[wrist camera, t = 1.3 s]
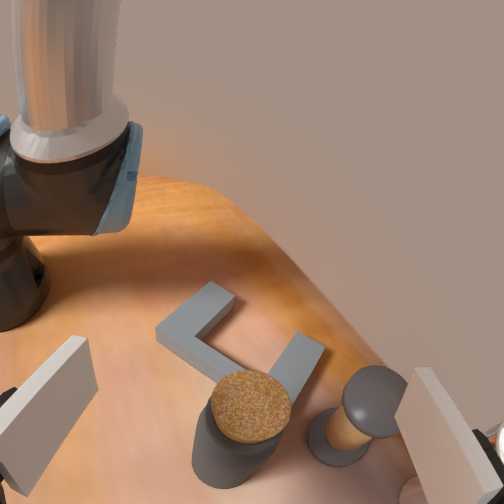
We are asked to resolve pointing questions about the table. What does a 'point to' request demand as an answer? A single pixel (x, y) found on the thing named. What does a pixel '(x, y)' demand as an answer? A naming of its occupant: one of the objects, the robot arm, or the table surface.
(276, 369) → the notch board
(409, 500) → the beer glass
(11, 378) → the table surface
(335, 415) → the bobbin
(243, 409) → the bottle
